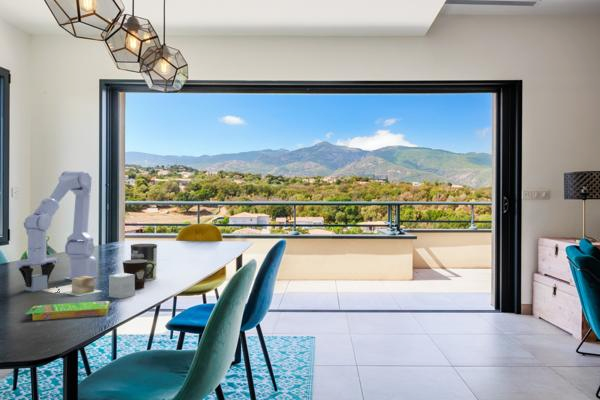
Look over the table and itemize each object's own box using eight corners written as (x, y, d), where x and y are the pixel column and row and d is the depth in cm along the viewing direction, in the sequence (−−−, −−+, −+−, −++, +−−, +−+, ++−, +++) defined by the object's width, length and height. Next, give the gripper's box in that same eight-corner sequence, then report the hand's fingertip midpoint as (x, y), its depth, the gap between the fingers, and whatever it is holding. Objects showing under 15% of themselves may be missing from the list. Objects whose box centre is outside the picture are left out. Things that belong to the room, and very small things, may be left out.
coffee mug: (123, 291, 151) (123, 263, 151) (121, 286, 159) (121, 260, 159) (157, 288, 156) (157, 261, 156) (153, 284, 164) (153, 258, 164)
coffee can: (144, 282, 167) (144, 246, 167) (124, 280, 171) (125, 245, 171) (162, 277, 177) (162, 244, 177) (142, 275, 181) (143, 243, 181)
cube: (39, 287, 155) (39, 274, 155) (47, 288, 153) (47, 275, 153) (25, 290, 151) (25, 276, 151) (33, 291, 148) (33, 277, 148)
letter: (76, 284, 162) (76, 283, 162) (92, 287, 157) (92, 286, 157) (41, 290, 151) (41, 289, 151) (57, 293, 146) (57, 293, 146)
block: (85, 289, 152) (85, 275, 152) (93, 291, 150) (94, 277, 150) (71, 292, 148) (72, 278, 148) (80, 294, 145) (80, 279, 145)
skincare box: (135, 295, 145) (135, 274, 145) (119, 299, 140) (119, 277, 140) (123, 293, 148) (123, 272, 148) (108, 296, 143) (108, 275, 143)
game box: (106, 318, 121) (23, 321, 115) (109, 310, 130) (33, 312, 124) (106, 308, 121) (24, 310, 115) (110, 300, 131) (34, 302, 124)
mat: (87, 288, 155) (87, 288, 155) (102, 291, 150) (102, 291, 150) (63, 293, 147) (63, 292, 147) (78, 296, 142) (78, 296, 142)
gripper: (21, 250, 143) (21, 290, 143) (63, 246, 156) (63, 283, 156) (10, 249, 147) (10, 288, 147) (52, 245, 159) (52, 281, 159)
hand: (36, 285), depth 152 cm, fingers closed on cube, 5 cm apart
